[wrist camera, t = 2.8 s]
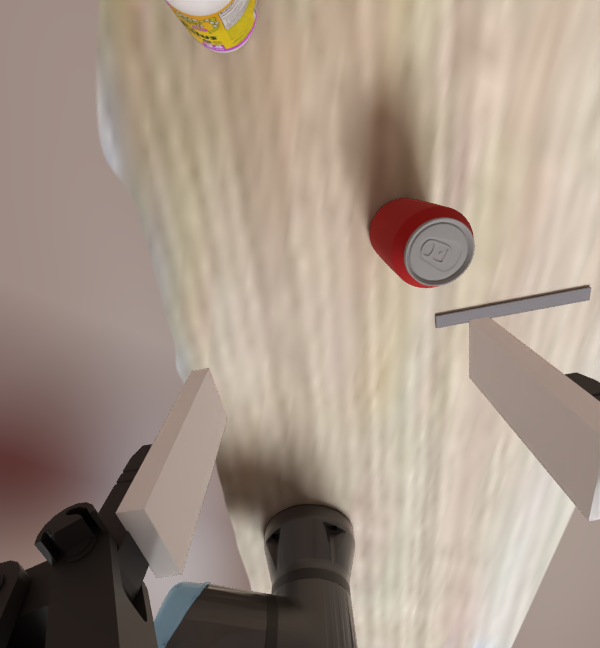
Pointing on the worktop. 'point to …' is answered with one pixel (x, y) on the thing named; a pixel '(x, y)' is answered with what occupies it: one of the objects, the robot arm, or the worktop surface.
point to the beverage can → (422, 241)
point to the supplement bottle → (218, 21)
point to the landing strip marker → (513, 307)
